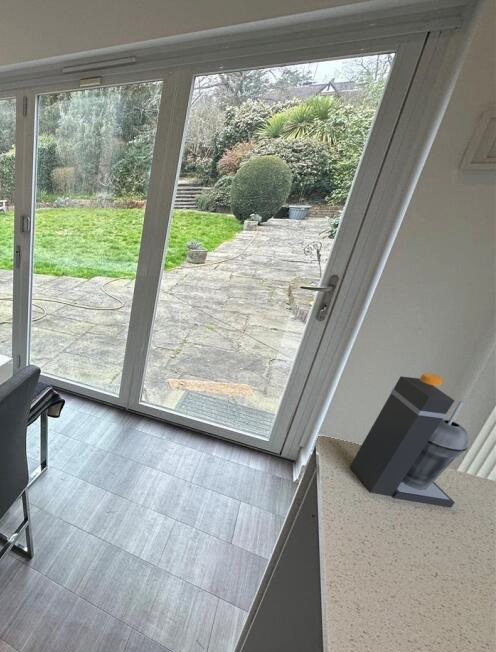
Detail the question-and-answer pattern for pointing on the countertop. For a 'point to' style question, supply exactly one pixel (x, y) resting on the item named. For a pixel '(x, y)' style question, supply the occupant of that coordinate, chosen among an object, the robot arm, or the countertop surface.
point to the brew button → (431, 379)
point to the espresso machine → (402, 442)
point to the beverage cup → (438, 453)
